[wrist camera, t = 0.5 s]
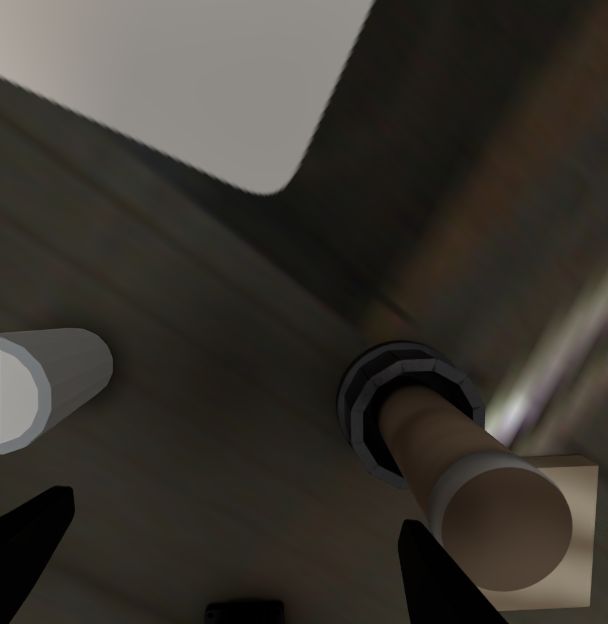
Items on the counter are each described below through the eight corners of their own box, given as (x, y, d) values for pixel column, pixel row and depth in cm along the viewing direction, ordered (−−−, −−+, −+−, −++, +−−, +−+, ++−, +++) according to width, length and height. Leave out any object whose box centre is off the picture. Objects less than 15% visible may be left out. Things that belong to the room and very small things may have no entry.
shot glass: (89, 423, 25) (7, 479, 18) (13, 372, 24) (-102, 409, 17) (139, 354, 24) (74, 384, 17) (63, 301, 24) (-35, 309, 17)
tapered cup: (436, 438, 24) (571, 591, 12) (369, 441, 24) (439, 597, 12) (437, 373, 24) (578, 465, 12) (368, 375, 24) (441, 470, 12)
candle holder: (459, 459, 25) (490, 492, 21) (337, 464, 25) (344, 498, 21) (462, 338, 25) (494, 349, 21) (335, 342, 24) (342, 354, 20)
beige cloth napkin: (573, 588, 27) (589, 606, 25) (434, 594, 27) (442, 613, 25) (580, 455, 26) (598, 465, 24) (435, 460, 25) (444, 471, 24)
